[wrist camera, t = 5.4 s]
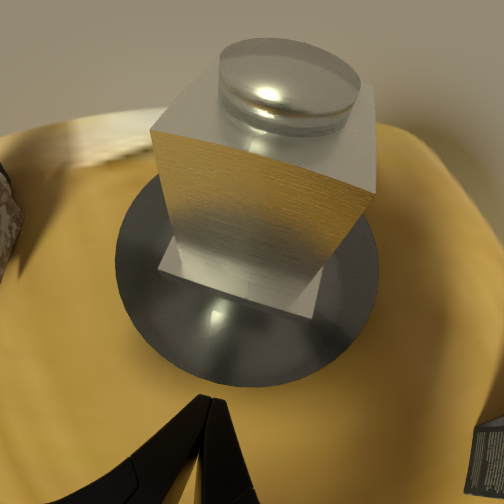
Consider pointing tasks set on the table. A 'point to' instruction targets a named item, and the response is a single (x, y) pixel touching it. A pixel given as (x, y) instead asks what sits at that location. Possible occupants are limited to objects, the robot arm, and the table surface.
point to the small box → (487, 461)
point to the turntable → (239, 307)
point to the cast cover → (265, 173)
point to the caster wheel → (7, 220)
